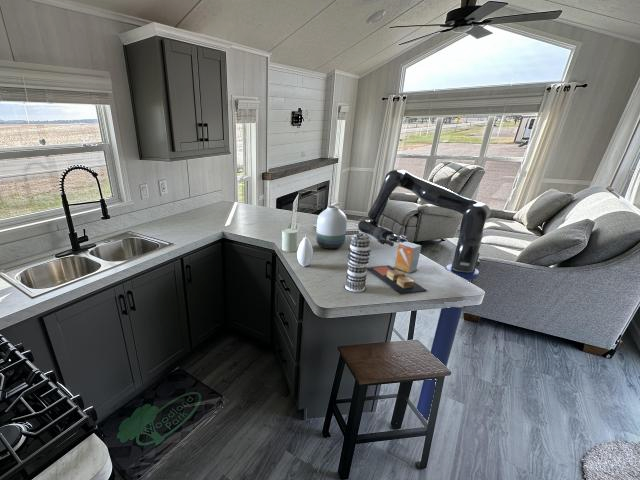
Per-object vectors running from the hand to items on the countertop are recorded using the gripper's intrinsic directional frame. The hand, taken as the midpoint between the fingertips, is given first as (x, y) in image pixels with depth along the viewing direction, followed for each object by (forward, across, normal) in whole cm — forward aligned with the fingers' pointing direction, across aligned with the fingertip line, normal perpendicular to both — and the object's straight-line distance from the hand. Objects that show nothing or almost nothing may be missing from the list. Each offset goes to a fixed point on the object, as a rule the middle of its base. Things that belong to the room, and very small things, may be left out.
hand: (400, 243), depth 166 cm
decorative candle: (+20, -34, +11) cm, 41 cm away
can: (-35, -47, +11) cm, 60 cm away
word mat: (+16, -12, +11) cm, 23 cm away
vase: (-34, -22, +11) cm, 42 cm away
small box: (+7, 0, +11) cm, 13 cm away
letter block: (+24, -12, +10) cm, 29 cm away
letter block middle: (+16, -12, +10) cm, 22 cm away
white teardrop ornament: (-9, -47, +11) cm, 49 cm away
